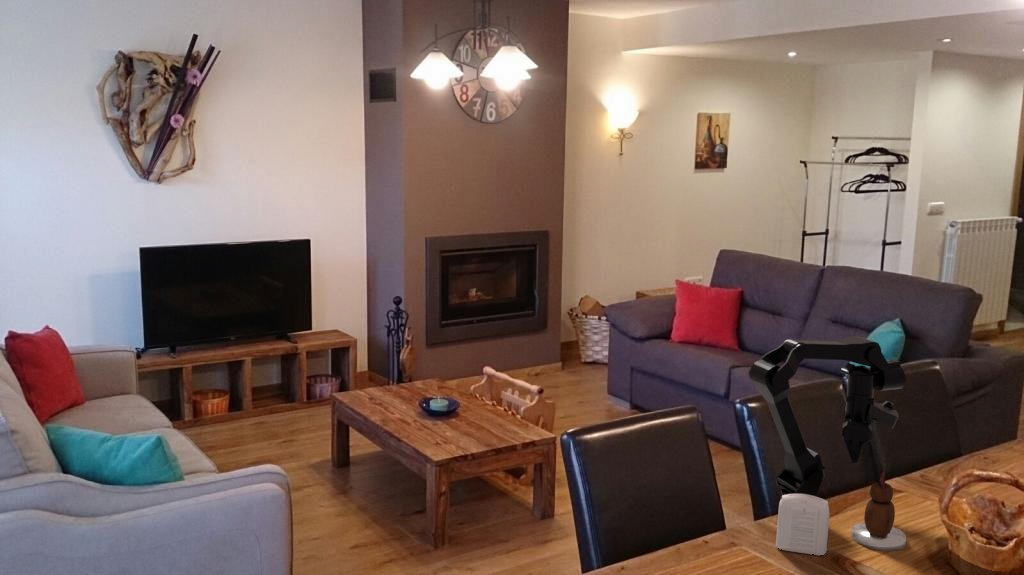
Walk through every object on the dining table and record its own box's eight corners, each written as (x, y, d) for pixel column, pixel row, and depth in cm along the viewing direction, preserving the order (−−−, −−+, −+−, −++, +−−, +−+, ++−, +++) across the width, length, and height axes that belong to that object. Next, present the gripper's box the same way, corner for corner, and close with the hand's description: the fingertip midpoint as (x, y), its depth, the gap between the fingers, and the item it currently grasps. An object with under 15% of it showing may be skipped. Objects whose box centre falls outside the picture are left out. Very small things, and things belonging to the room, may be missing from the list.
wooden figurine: (887, 541, 192) (893, 475, 190) (859, 534, 196) (865, 468, 193) (896, 531, 197) (902, 466, 195) (869, 524, 201) (874, 459, 198)
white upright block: (826, 549, 192) (830, 494, 190) (826, 558, 188) (831, 502, 186) (775, 542, 195) (779, 488, 193) (775, 551, 191) (779, 495, 189)
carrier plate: (850, 545, 194) (851, 538, 193) (852, 525, 204) (852, 519, 203) (906, 554, 190) (907, 548, 189) (905, 533, 200) (905, 527, 199)
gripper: (898, 407, 196) (893, 475, 199) (897, 385, 213) (892, 448, 216) (844, 401, 200) (839, 468, 203) (847, 380, 217) (842, 442, 220)
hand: (855, 456), depth 210 cm, fingers open, 9 cm apart
